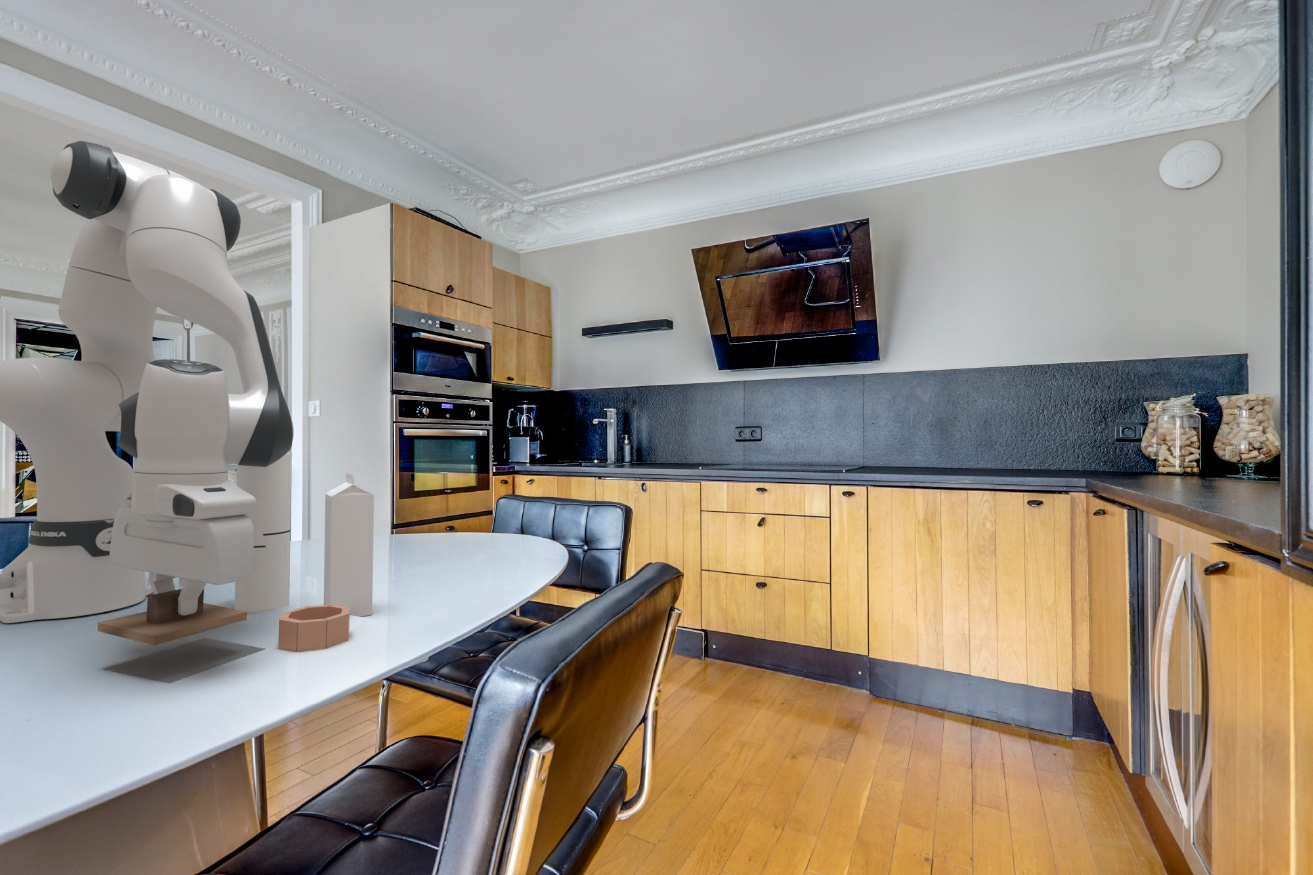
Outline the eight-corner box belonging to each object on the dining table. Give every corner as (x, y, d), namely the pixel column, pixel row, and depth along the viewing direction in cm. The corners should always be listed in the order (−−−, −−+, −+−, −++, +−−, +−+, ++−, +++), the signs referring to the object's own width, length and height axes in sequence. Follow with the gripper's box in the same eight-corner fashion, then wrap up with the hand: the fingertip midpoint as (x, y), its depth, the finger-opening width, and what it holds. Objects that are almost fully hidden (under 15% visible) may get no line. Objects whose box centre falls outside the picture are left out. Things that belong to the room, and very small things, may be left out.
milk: (329, 622, 88) (330, 475, 88) (323, 612, 93) (324, 472, 92) (373, 615, 91) (374, 474, 91) (365, 605, 96) (366, 471, 96)
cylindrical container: (295, 611, 92) (297, 453, 92) (240, 621, 87) (243, 454, 87) (281, 602, 97) (284, 452, 97) (229, 611, 92) (232, 452, 92)
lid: (97, 631, 67) (99, 596, 67) (192, 608, 76) (193, 577, 76) (154, 645, 63) (155, 608, 63) (246, 619, 73) (247, 587, 73)
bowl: (265, 653, 75) (266, 616, 75) (319, 635, 82) (320, 602, 82) (309, 662, 72) (310, 625, 72) (361, 643, 79) (362, 609, 79)
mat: (102, 677, 67) (102, 668, 67) (203, 645, 77) (204, 637, 77) (168, 692, 63) (169, 682, 63) (265, 656, 74) (265, 648, 74)
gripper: (94, 491, 70) (89, 605, 70) (210, 505, 63) (204, 632, 63) (155, 487, 76) (150, 593, 76) (266, 500, 69) (261, 616, 69)
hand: (176, 611), depth 70 cm, fingers closed on lid, 2 cm apart
